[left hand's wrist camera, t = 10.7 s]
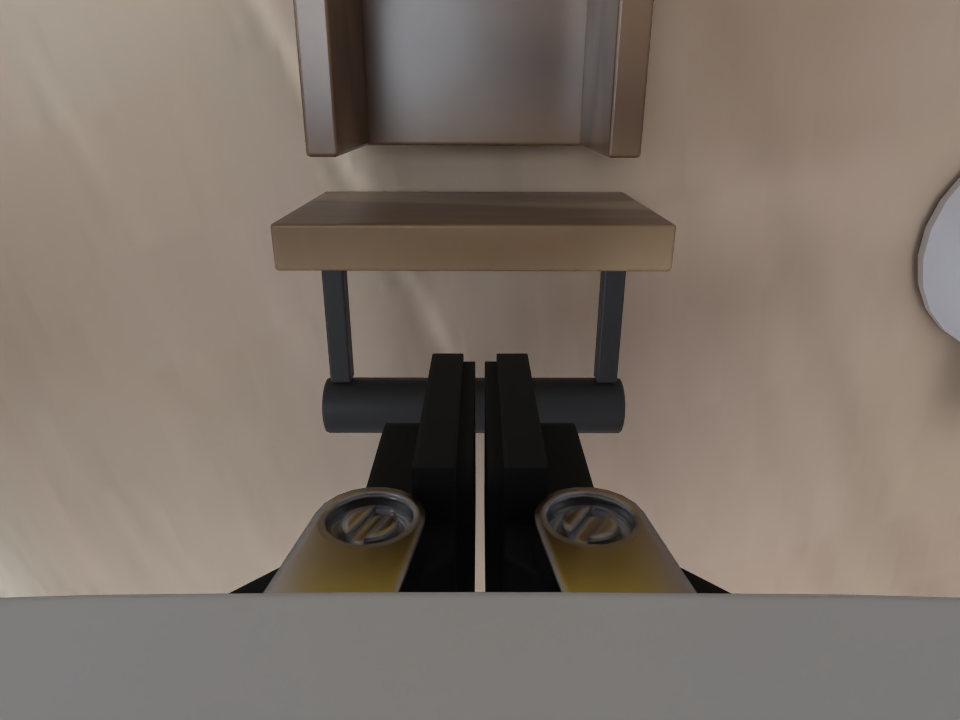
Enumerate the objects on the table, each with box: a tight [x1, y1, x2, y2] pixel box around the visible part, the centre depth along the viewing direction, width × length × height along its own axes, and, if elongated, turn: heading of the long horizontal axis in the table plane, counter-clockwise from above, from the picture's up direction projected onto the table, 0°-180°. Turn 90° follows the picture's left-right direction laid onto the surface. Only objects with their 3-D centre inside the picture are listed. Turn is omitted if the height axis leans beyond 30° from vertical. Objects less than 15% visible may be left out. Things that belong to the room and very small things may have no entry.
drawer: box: [271, 0, 676, 433], centre depth 18 cm, size 22×10×6 cm, turn 0°
